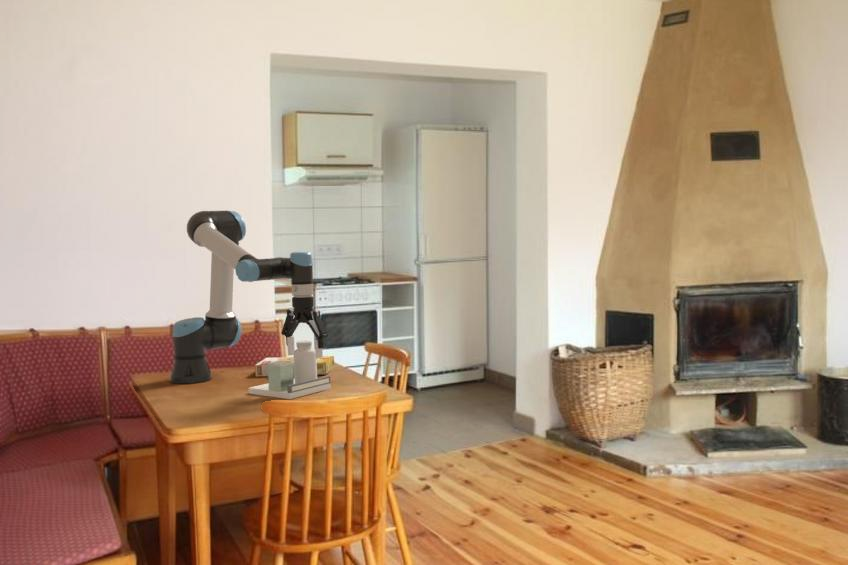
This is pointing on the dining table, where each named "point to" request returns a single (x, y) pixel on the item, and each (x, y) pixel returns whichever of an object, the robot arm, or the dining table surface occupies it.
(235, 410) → the dining table surface
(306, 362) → the pill bottle
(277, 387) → the tea tin
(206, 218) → the robot arm
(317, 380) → the flat white tray
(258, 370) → the cereal box
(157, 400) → the dining table surface
